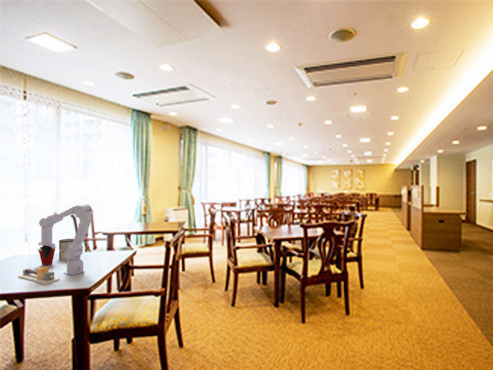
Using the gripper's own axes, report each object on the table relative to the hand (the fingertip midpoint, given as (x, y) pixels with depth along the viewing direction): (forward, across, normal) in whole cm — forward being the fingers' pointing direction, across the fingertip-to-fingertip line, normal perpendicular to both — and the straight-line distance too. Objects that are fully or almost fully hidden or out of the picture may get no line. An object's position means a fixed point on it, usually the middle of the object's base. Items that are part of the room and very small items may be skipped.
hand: (46, 257), depth 178 cm
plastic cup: (+10, -18, +10) cm, 23 cm away
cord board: (+9, +9, -10) cm, 16 cm away
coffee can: (+10, -23, +27) cm, 37 cm away
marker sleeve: (+8, +14, -10) cm, 18 cm away
